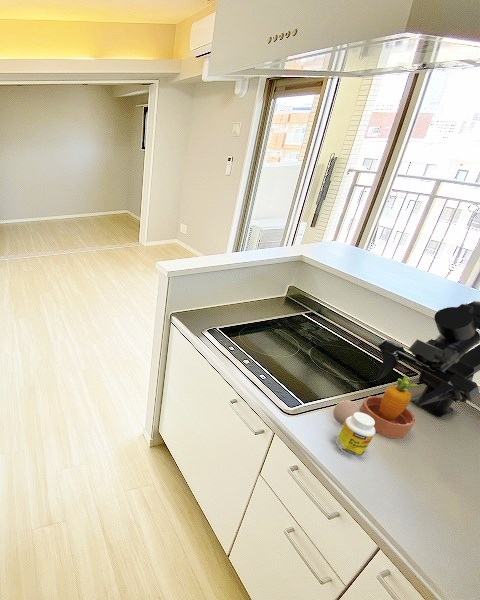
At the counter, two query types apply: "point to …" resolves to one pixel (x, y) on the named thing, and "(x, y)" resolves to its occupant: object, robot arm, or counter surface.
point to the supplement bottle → (356, 434)
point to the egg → (344, 411)
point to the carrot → (395, 400)
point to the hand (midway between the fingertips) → (396, 391)
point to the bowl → (383, 427)
